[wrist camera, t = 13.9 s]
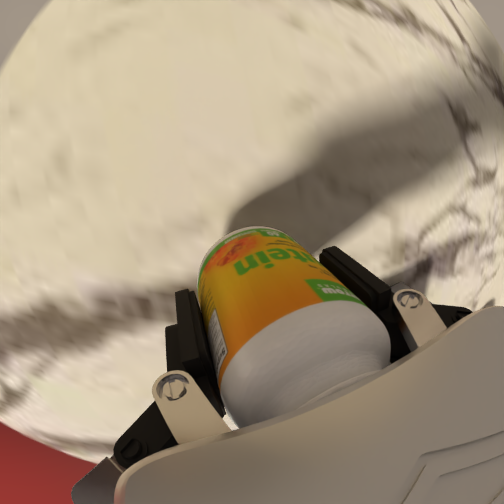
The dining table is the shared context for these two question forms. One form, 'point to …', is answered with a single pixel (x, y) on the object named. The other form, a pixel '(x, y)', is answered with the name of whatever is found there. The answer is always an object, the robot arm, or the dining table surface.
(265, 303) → the supplement bottle
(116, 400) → the dining table surface
